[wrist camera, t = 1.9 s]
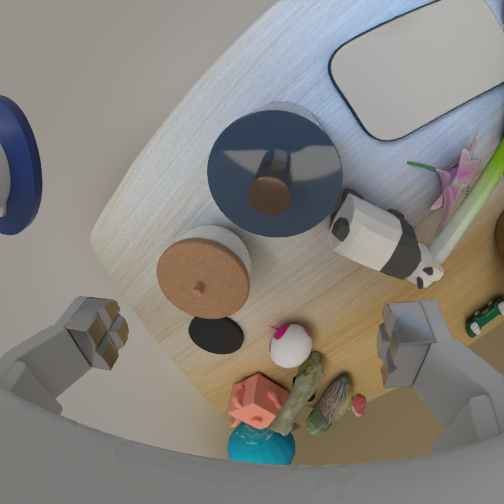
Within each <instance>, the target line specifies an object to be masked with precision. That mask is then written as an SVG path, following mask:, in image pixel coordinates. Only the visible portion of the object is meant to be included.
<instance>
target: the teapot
mask: <svg viewBox="0 0 504 504" xmlns="http://www.w3.org/2000/svg"><path fill="white" fill-rule="evenodd" d="M288 397H289V392H287V391H286V390H284V389H282V388H281V387H279V386H278V385H276V384H274V383H273V382H271V381H269V380H268V379H266V378H264V377H263V376H261V375H260V374H256V375H254V376H252V377H250V378H248V379H246V380H244V381H242V382H239V383H237V384H235V385H233V387H232V391H231V396H230V400H229V405H228V409H227V414H229V415H231V416H233V417H235V420H234V422H233V423H232V424H231V425H230V427H236V426H237V425H238V424H239V423H240V422H241V421H243V422H245V423H247V424H249V425H251V426H253V427H255V428H257V429H263V428H266V427H268V426H269V425H270V424H271V422H272V421H273V420H274V418H275V417H276V416H277V414H278V413H279V412H280V410H281V409H282V407H283V406H284V404H285V402H286V401H287V399H288Z"/></svg>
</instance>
